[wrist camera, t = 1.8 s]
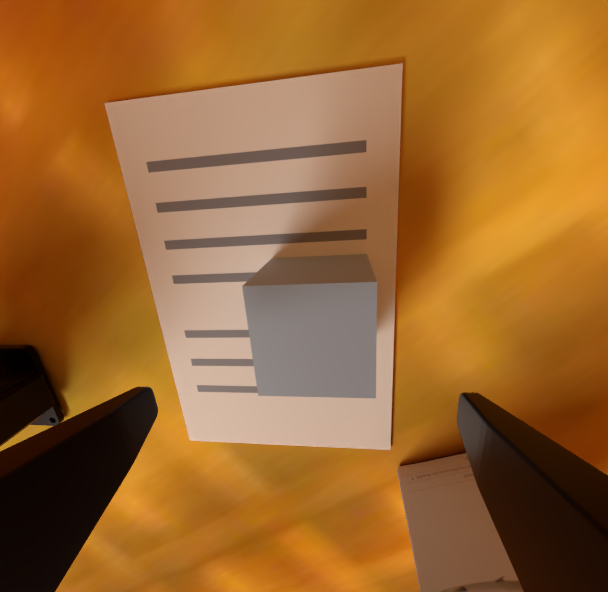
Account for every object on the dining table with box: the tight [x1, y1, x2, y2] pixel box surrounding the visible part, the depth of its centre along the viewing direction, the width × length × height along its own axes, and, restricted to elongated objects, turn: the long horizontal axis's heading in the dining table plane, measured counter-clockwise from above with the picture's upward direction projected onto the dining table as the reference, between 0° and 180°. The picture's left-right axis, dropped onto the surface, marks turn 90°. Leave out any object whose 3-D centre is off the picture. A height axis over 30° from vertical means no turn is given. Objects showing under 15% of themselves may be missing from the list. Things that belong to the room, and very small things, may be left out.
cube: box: [242, 254, 377, 398], centre depth 14 cm, size 5×5×5 cm
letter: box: [104, 63, 403, 450], centre depth 17 cm, size 14×21×1 cm, turn 4°
